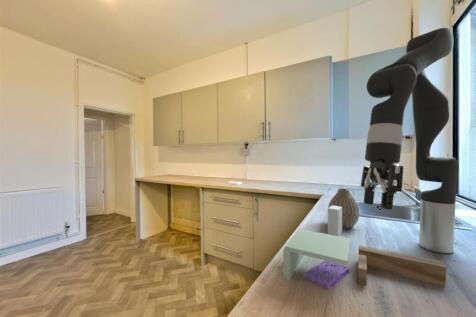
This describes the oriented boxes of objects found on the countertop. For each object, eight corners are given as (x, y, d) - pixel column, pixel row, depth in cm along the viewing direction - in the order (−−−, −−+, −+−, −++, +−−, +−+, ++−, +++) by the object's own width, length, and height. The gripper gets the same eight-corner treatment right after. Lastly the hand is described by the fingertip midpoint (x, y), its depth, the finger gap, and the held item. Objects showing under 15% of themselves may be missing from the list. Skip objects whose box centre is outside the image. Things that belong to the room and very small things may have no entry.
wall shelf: (297, 254, 73) (297, 228, 72) (350, 268, 65) (351, 238, 64) (282, 277, 60) (283, 245, 59) (346, 297, 52) (347, 261, 51)
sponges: (349, 273, 63) (350, 267, 63) (328, 291, 55) (328, 284, 54) (326, 263, 68) (326, 257, 68) (304, 278, 60) (304, 272, 60)
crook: (358, 260, 69) (358, 245, 69) (441, 279, 59) (441, 261, 59) (357, 282, 57) (358, 264, 57) (461, 310, 47) (462, 288, 47)
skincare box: (331, 232, 92) (331, 205, 92) (342, 235, 90) (342, 206, 89) (327, 236, 88) (327, 208, 87) (338, 239, 85) (338, 209, 85)
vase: (330, 230, 95) (331, 191, 94) (325, 220, 108) (326, 186, 107) (363, 233, 92) (364, 192, 91) (354, 222, 105) (354, 187, 104)
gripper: (419, 141, 48) (411, 214, 47) (383, 148, 62) (376, 204, 61) (383, 137, 49) (375, 208, 48) (356, 145, 63) (349, 200, 62)
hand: (376, 206), depth 54 cm, fingers open, 8 cm apart
